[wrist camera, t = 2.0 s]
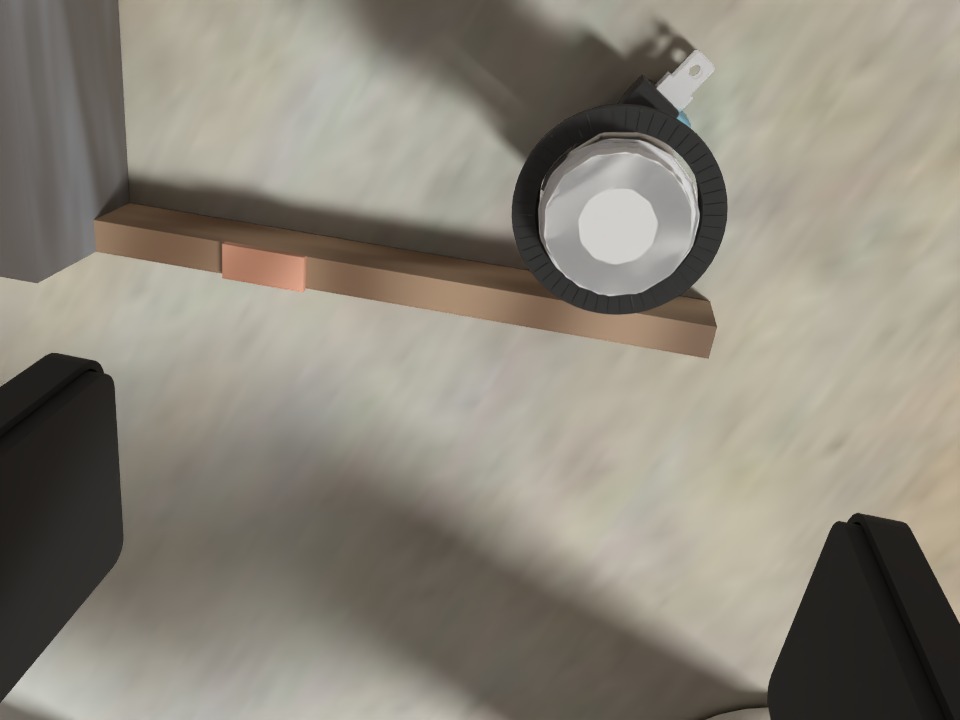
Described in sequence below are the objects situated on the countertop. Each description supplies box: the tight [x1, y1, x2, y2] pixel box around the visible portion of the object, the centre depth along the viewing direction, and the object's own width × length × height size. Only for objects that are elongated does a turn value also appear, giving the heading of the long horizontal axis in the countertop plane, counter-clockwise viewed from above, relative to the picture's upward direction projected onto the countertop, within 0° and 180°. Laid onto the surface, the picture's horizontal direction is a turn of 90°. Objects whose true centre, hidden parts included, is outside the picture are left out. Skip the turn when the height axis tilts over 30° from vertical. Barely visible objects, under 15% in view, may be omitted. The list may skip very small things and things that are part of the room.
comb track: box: [0, 0, 717, 358], centre depth 27 cm, size 24×14×6 cm, turn 83°
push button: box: [512, 50, 727, 315], centre depth 24 cm, size 7×5×10 cm
